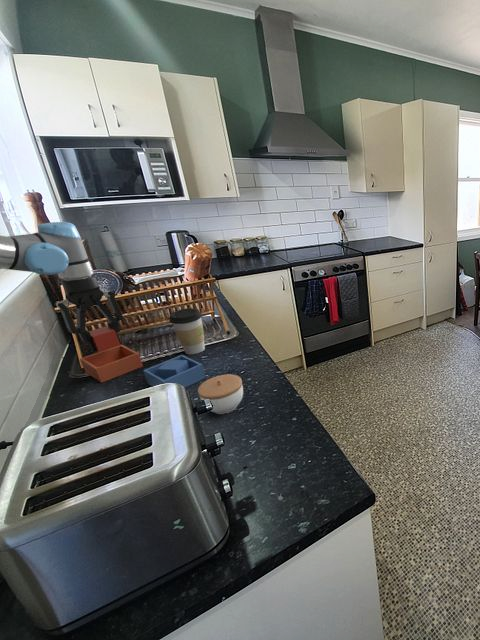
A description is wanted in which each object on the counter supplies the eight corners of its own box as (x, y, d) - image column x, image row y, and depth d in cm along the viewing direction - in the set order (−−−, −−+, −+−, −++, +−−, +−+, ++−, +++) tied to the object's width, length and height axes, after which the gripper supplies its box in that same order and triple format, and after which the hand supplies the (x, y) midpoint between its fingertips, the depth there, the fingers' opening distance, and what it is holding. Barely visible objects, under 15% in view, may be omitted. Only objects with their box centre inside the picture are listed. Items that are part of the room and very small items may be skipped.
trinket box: (248, 393, 105) (242, 366, 102) (244, 415, 96) (238, 387, 92) (208, 399, 102) (200, 372, 98) (200, 423, 93) (191, 394, 89)
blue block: (162, 384, 107) (157, 369, 105) (174, 374, 112) (169, 359, 110) (180, 384, 107) (175, 369, 105) (191, 374, 112) (186, 360, 110)
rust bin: (101, 382, 108) (95, 369, 106) (85, 372, 113) (79, 358, 111) (143, 366, 117) (138, 353, 115) (126, 357, 122) (121, 344, 120)
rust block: (99, 352, 108) (92, 336, 106) (91, 347, 110) (84, 332, 108) (120, 345, 112) (114, 330, 110) (112, 340, 115) (106, 326, 112)
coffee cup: (216, 344, 132) (207, 308, 126) (198, 357, 123) (187, 319, 117) (192, 342, 133) (182, 306, 126) (172, 355, 124) (160, 317, 117)
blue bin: (167, 395, 103) (162, 381, 101) (147, 384, 108) (142, 370, 106) (206, 377, 112) (202, 364, 110) (186, 367, 117) (182, 354, 115)
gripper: (110, 267, 111) (133, 332, 120) (28, 282, 96) (62, 355, 105) (121, 271, 107) (144, 337, 117) (39, 287, 93) (73, 361, 102)
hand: (105, 345), depth 111 cm, fingers closed on rust block, 5 cm apart
